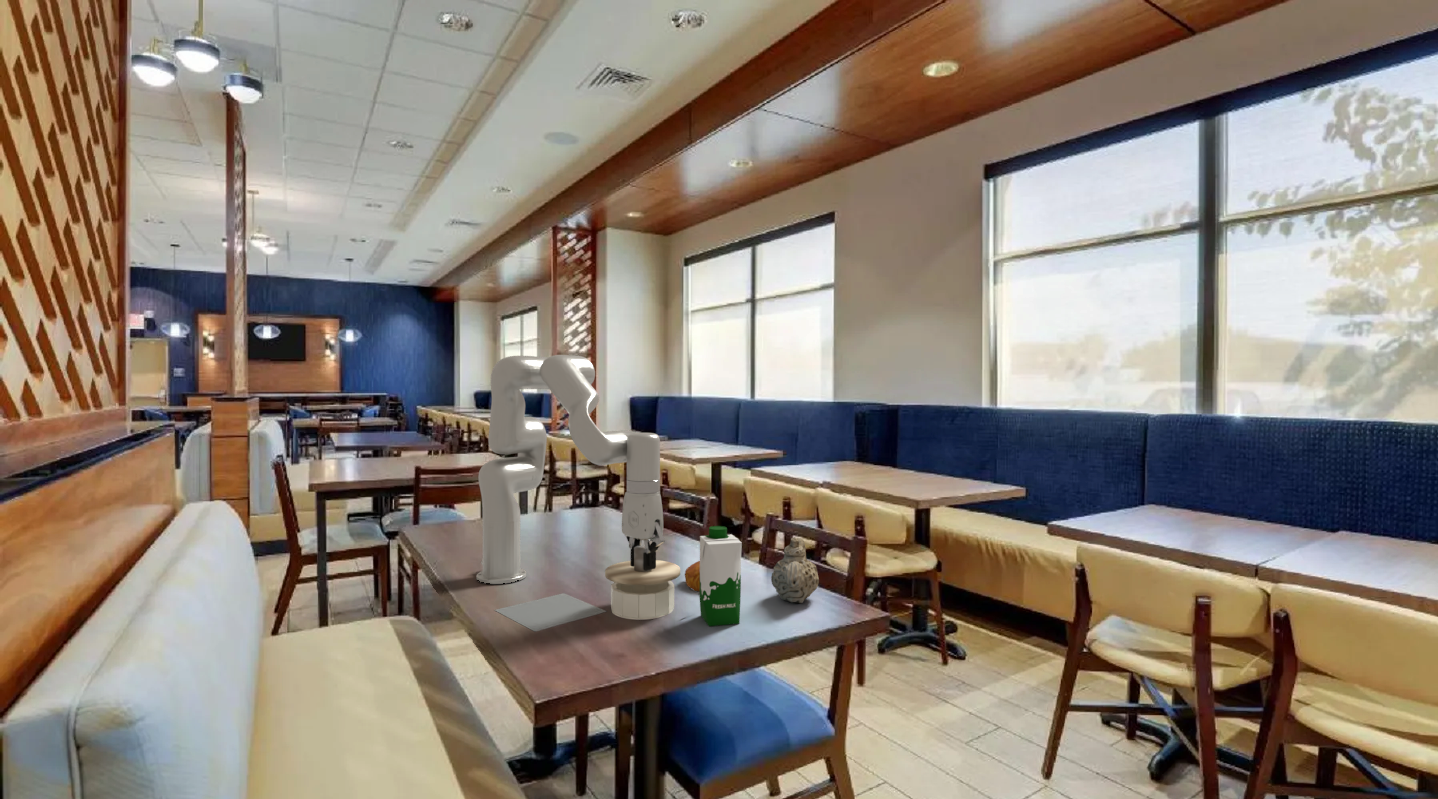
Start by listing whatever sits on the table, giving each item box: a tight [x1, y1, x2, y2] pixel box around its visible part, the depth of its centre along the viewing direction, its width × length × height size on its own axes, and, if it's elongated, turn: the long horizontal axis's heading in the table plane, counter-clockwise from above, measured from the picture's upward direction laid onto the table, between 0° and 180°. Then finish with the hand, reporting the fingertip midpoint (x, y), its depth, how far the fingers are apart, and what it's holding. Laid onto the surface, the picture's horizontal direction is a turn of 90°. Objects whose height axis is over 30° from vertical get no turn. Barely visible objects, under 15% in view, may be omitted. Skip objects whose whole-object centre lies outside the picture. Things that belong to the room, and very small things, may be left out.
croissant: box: [684, 560, 700, 593], centre depth 176 cm, size 14×16×8 cm
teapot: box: [770, 536, 820, 604], centre depth 165 cm, size 21×12×15 cm, turn 168°
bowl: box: [610, 580, 675, 621], centre depth 155 cm, size 14×14×6 cm
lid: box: [604, 545, 681, 585], centre depth 155 cm, size 17×17×6 cm
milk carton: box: [698, 525, 743, 627], centre depth 150 cm, size 9×9×20 cm
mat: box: [494, 592, 608, 633], centre depth 154 cm, size 18×18×1 cm
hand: (643, 566), depth 155 cm, fingers closed on lid, 4 cm apart
